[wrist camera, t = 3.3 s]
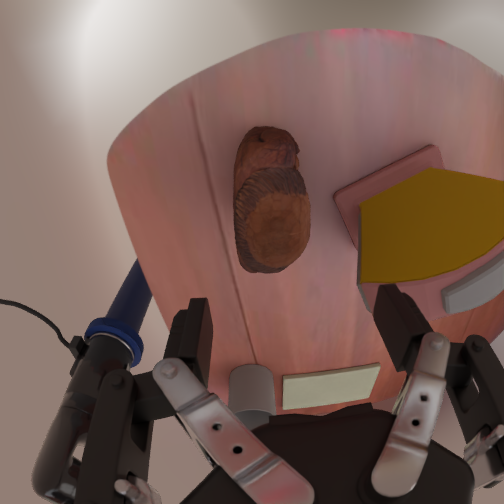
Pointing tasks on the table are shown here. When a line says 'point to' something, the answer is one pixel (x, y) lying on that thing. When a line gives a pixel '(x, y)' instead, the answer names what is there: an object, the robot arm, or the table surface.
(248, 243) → the wooden figurine
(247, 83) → the table surface
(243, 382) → the cup
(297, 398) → the mat
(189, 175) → the table surface
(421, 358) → the robot arm
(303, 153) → the table surface
